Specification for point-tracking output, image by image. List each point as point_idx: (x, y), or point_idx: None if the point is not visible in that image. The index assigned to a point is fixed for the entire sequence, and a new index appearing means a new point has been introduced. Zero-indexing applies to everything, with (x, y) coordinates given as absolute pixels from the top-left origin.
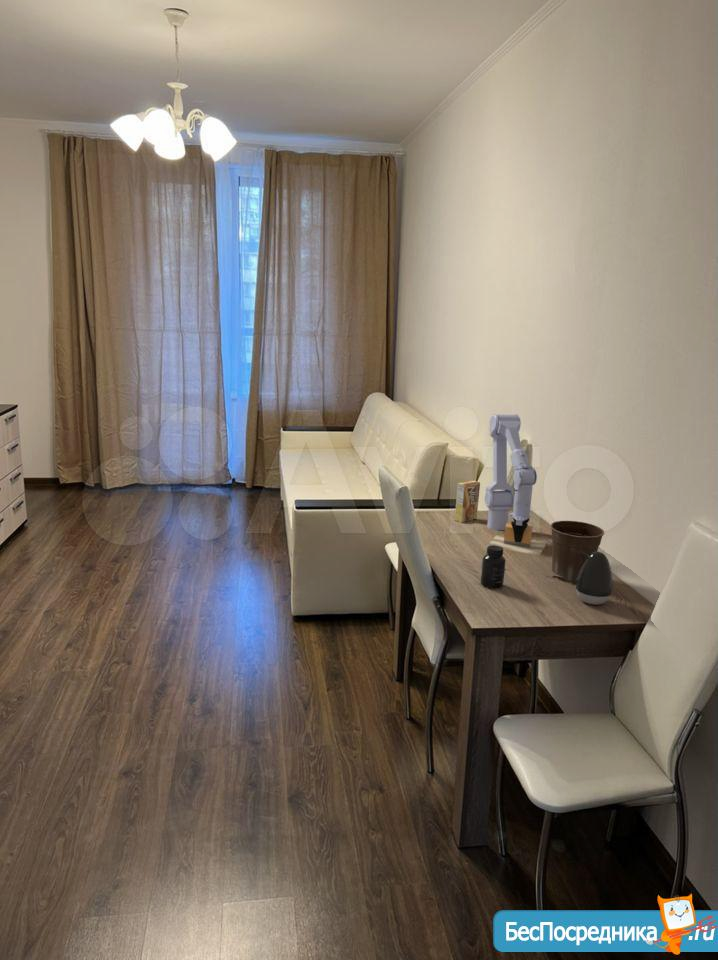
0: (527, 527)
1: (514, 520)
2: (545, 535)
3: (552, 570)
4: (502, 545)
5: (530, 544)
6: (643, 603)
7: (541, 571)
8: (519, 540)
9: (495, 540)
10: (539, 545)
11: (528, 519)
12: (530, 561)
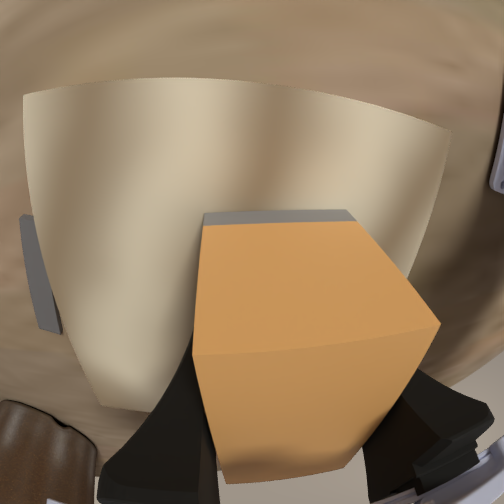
0: (297, 467)
1: (423, 427)
2: (470, 347)
3: (1, 410)
4: (130, 213)
5: None
6: None
7: (6, 380)
8: None
9: (266, 119)
10: None
11: (373, 500)
12: (57, 360)
